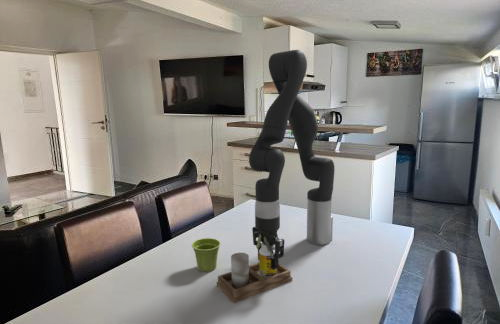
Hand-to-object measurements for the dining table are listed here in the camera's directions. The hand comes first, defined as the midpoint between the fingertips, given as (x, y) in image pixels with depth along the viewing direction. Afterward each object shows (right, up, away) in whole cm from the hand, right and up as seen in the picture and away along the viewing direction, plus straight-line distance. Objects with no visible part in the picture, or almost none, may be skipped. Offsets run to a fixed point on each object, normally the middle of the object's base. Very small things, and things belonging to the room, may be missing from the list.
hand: (267, 264), depth 105 cm
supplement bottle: (0, -4, +1) cm, 4 cm away
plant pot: (-20, -4, +8) cm, 22 cm away
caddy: (-4, -5, -2) cm, 7 cm away
